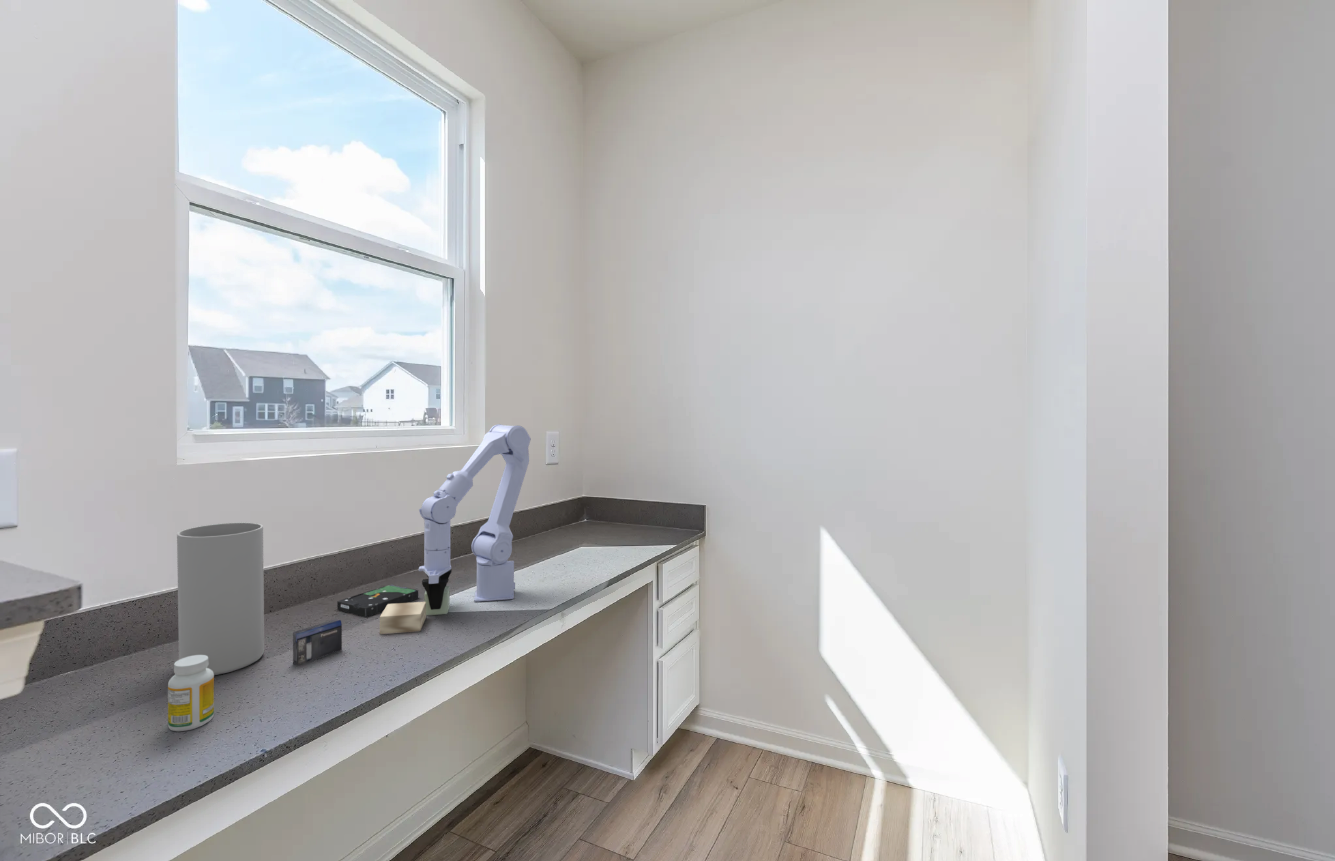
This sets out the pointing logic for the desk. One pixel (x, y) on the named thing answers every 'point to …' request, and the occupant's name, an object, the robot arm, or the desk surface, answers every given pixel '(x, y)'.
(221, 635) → the cylinder vase
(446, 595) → the sage block
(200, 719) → the supplement bottle
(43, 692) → the desk surface
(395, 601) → the disk drive
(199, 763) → the desk surface
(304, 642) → the mini dv tape
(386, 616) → the birch block
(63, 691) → the desk surface
